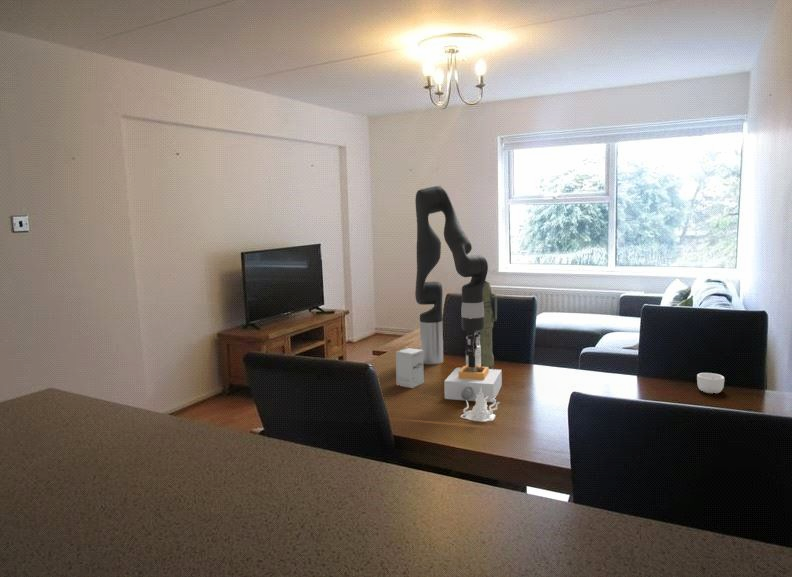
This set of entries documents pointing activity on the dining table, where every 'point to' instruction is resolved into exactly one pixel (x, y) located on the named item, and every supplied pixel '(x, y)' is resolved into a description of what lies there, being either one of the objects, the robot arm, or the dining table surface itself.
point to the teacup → (710, 382)
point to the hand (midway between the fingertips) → (473, 364)
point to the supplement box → (409, 367)
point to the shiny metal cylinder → (477, 361)
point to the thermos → (487, 328)
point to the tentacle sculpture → (480, 409)
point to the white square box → (473, 384)
